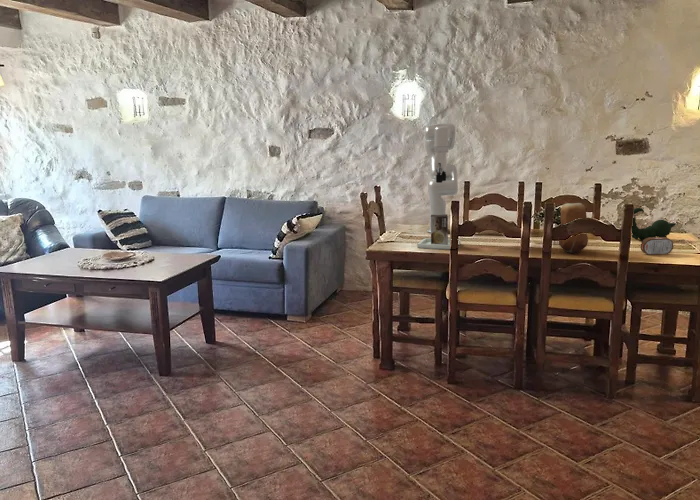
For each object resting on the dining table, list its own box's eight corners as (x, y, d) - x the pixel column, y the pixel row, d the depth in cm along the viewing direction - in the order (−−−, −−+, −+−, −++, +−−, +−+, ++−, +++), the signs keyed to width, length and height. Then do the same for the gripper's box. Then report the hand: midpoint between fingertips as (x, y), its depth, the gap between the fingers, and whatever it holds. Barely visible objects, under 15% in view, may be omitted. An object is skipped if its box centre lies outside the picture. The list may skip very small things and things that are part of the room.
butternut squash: (566, 248, 293) (569, 200, 288) (592, 252, 283) (595, 202, 278) (552, 253, 284) (555, 203, 279) (578, 257, 274) (581, 205, 269)
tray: (424, 242, 318) (424, 238, 318) (460, 243, 311) (460, 239, 311) (417, 247, 304) (417, 243, 303) (454, 249, 297) (454, 245, 296)
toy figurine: (631, 245, 305) (680, 240, 302) (630, 210, 301) (680, 205, 298) (624, 241, 314) (672, 237, 311) (623, 207, 310) (672, 202, 307)
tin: (669, 253, 277) (671, 236, 275) (673, 254, 274) (675, 237, 272) (639, 254, 277) (640, 237, 275) (642, 255, 274) (644, 238, 272)
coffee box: (447, 243, 310) (447, 214, 307) (447, 245, 304) (448, 216, 300) (430, 243, 311) (430, 214, 308) (430, 245, 305) (430, 216, 302)
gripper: (438, 149, 318) (437, 180, 322) (430, 150, 303) (430, 183, 306) (451, 149, 316) (451, 180, 319) (444, 150, 300) (444, 183, 304)
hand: (441, 181), depth 313 cm, fingers open, 9 cm apart
